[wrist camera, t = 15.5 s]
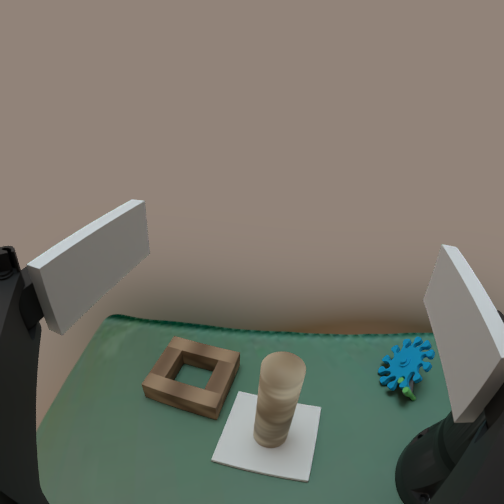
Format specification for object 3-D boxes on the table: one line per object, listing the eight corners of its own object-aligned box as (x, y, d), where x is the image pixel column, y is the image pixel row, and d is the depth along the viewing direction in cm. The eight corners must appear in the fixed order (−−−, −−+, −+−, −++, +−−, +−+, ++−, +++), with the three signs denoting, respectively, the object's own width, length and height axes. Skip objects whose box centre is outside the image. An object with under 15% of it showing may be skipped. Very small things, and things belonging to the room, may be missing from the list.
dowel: (290, 424, 37) (309, 356, 30) (283, 451, 33) (302, 388, 27) (258, 417, 38) (267, 347, 31) (249, 443, 34) (255, 379, 28)
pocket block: (239, 365, 47) (239, 352, 46) (216, 419, 38) (215, 408, 37) (176, 349, 50) (174, 336, 48) (145, 396, 40) (141, 384, 39)
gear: (379, 345, 50) (431, 326, 43) (394, 364, 51) (443, 347, 44) (371, 398, 41) (431, 382, 35) (387, 415, 42) (443, 400, 36)
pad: (320, 409, 40) (321, 407, 40) (307, 482, 30) (308, 480, 29) (238, 393, 42) (238, 391, 42) (211, 461, 32) (211, 459, 32)
